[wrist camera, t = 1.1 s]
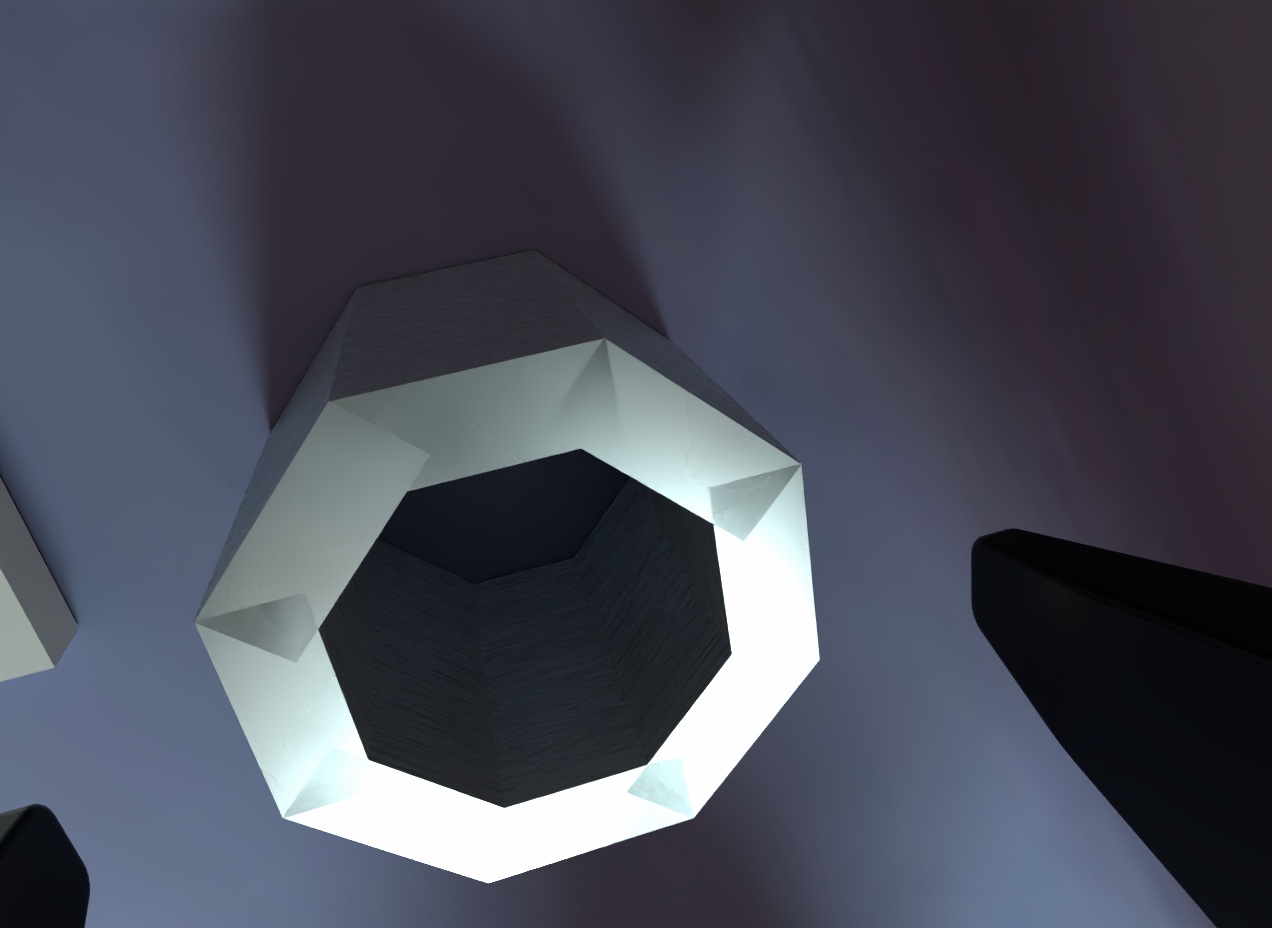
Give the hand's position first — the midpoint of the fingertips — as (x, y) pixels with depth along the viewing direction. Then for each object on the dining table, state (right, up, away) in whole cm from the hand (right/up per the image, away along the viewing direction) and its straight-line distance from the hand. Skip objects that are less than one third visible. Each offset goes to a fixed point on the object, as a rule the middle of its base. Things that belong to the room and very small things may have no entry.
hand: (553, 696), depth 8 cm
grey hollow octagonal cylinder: (-1, +2, +5) cm, 6 cm away
